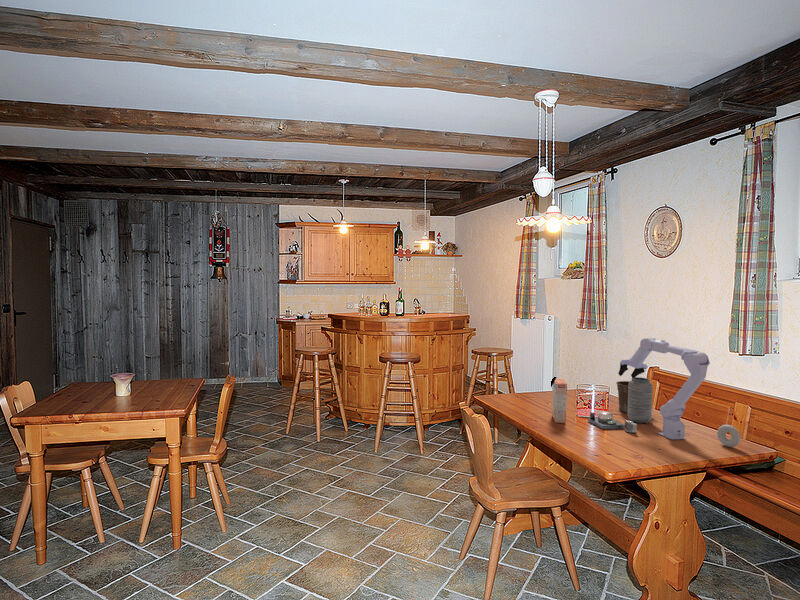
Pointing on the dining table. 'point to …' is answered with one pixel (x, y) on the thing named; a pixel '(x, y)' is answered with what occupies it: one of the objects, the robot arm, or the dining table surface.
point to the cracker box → (559, 401)
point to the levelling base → (604, 425)
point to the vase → (640, 400)
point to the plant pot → (623, 395)
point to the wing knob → (630, 426)
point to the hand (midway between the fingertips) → (625, 375)
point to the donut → (734, 433)
